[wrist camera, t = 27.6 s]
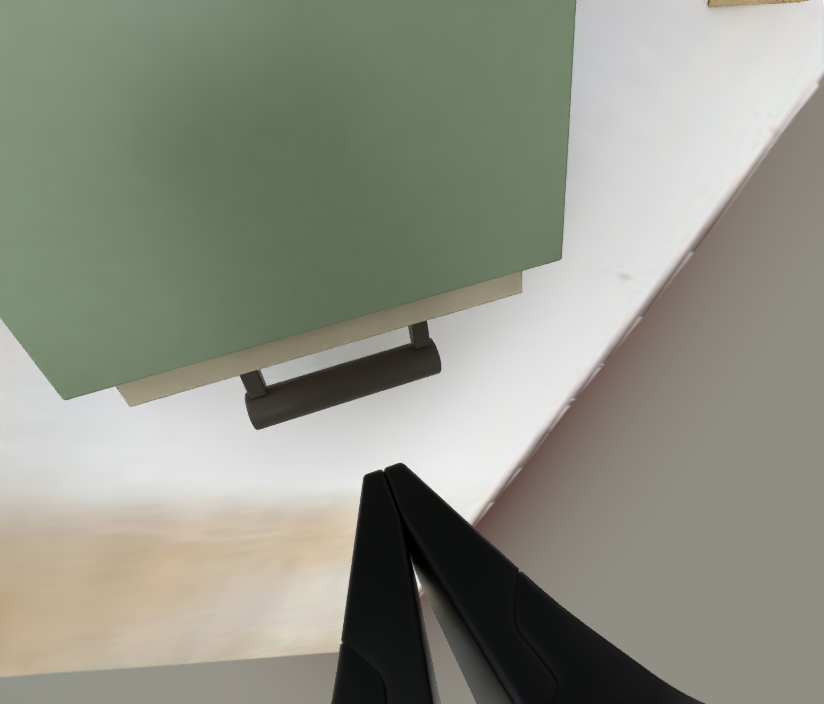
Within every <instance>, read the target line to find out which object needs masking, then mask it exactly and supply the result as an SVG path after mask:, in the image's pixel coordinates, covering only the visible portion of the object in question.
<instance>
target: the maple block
mask: <svg viewBox="0 0 824 704" xmlns="http://www.w3.org/2000/svg"><path fill="white" fill-rule="evenodd" d="M802 1H808V0H710V2H709V7H722V6H740V5H758V4H776V3H794V2H802Z"/></svg>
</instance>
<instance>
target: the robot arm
mask: <svg viewBox="0 0 824 704" xmlns="http://www.w3.org/2000/svg"><path fill="white" fill-rule="evenodd" d="M412 564H413V565H412ZM413 567H414V569H413ZM414 570H415V572H416V574H417V577H418V579H419V581H420V583H421V586H422V588H423V590H424V592H425V594H426V596H427V598H428V600H429V602H430V605H431V607H432V609H433V611H434V613H435V615H436V618H437V620H438V622H439V624H440V626H441V628H442V630H443V632H444V634H445V637H446V639H447V641H448V643H449V645H450V647H451V649H452V652H453V654H454V656H455V658H456V660H457V662H458V665H459V667H460V669H461V671H462V673H463V675H464V677H465V680H466V682H467V684H468V686H469V688H470V690H471V692H472V695H473V697H474V699H475V701H476V703H477V704H705V703H702V702H700V701H698V700H696V699H694V698H692V697H690V696H688V695H686V694H684V693H682V692H681V691H679V690H677V689H675V688H674V687H672V686H671V685H669V684H668V683H666V682H664V681H663V680H661V679H660V678H658V677H657V676H656V675H654V674H653V673H651V672H650V671H649V670H647V669H646V668H644V667H643V666H642V665H640V664H639V663H638V662H636V661H635V660H633V659H632V658H631V657H629V656H628V655H626V654H625V653H624V652H622V651H621V650H620V649H618V648H617V647H616V646H614V645H613V644H611V643H610V642H609V641H607V640H606V639H605V638H603V637H602V636H601V635H599V634H598V633H596V632H595V631H594V630H592V629H591V628H590V627H588V626H587V625H585V624H584V623H583V622H581V621H580V620H579V619H578V618H576V617H575V616H574V615H572V614H571V613H570V612H568V611H567V610H566V609H565V608H563V607H562V606H561V605H559V604H558V603H557V602H556V601H555V600H554V599H553V598H551V597H550V596H549V595H548V594H547V593H545V592H544V591H543V590H542V589H541V588H540V587H538V586H537V585H536V584H535V583H534V582H533V581H532V580H531V579H530V578H529V577H528V576H526V575H525V574H524V573H523V572H519V569H518V568H517V567H516V566H515V565H514V564H513V563H512V562H511V561H510V560H509V559H508V558H506V557H505V556H504V555H503V554H502V553H501V552H500V551H499V550H498V549H497V548H496V547H494V546H493V545H492V544H491V543H490V542H489V541H488V540H487V539H486V538H485V537H483V536H482V535H481V534H480V533H479V532H478V531H477V530H476V529H475V528H474V527H473V526H471V525H470V524H469V523H468V522H467V521H466V520H465V519H464V518H463V517H462V516H461V515H459V514H458V513H457V512H456V511H455V510H454V509H453V508H452V507H451V506H450V505H448V504H447V503H446V502H445V501H444V500H443V499H442V498H441V497H440V496H439V495H438V494H436V493H435V492H434V491H433V490H432V489H431V488H430V487H429V486H428V485H427V484H426V483H424V482H423V481H422V480H421V479H420V478H419V477H418V476H417V475H416V474H415V473H413V472H412V471H411V470H410V469H409V468H408V467H407V466H406V465H405V464H403V463H397V464H394V465H392V466H389V467H386V468H385V469H384V471H383V470H377V471H374V472H371V473H368V474H366V475H365V476H364V478H363V484H362V491H361V498H360V506H359V513H358V520H357V528H356V535H355V543H354V550H353V557H352V565H351V572H350V579H349V587H348V594H347V602H346V609H345V616H344V624H343V631H342V638H341V640H342V644H341V645H340V651H339V659H338V666H337V672H336V678H335V685H334V690H333V697H332V702H331V704H441V702H440V697H439V692H438V688H437V682H436V678H435V672H434V668H433V663H432V657H431V652H430V647H429V642H428V637H427V632H426V627H425V622H424V617H423V612H422V607H421V602H420V597H419V592H418V587H417V582H416V578H415V573H414Z"/></svg>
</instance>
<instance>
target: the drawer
mask: <svg viewBox="0 0 824 704" xmlns="http://www.w3.org/2000/svg"><path fill="white" fill-rule="evenodd" d="M521 292H522V271H520V272H516V273H513V274H509V275H505V276H502V277H498V278H495V279H491V280H488V281H484V282H481V283H477V284H474V285H470V286H467V287H463V288H460V289H456V290H453V291H449V292H445V293H442V294H438V295H435V296H431V297H428V298H424V299H421V300H417V301H414V302H410V303H407V304H403V305H400V306H396V307H393V308H389V309H386V310H382V311H378V312H375V313H371V314H368V315H364V316H361V317H357V318H354V319H350V320H347V321H343V322H340V323H336V324H333V325H329V326H326V327H322V328H318V329H315V330H311V331H308V332H304V333H301V334H297V335H294V336H290V337H287V338H283V339H280V340H276V341H273V342H269V343H266V344H262V345H258V346H255V347H251V348H248V349H244V350H241V351H237V352H234V353H230V354H227V355H223V356H220V357H216V358H213V359H209V360H206V361H202V362H198V363H195V364H191V365H188V366H184V367H181V368H177V369H174V370H170V371H167V372H163V373H160V374H156V375H153V376H149V377H146V378H142V379H138V380H135V381H131V382H128V383H124V384H121V385H117V386H116V387H117V389H118V390H119V392H120V393H121V395H122V396H123V398H124V399H125V401H126V402H127V404H128V405H129V406H130V407H132V406H135V405H139V404H142V403H146V402H149V401H152V400H156V399H159V398H163V397H166V396H170V395H173V394H176V393H180V392H183V391H187V390H190V389H193V388H197V387H200V386H204V385H207V384H211V383H214V382H217V381H221V380H224V379H228V378H231V377H235V376H238V375H240V377H241V380H242V382H243V384H244V386H245V389H246V391H247V393H246V394H245V403H246V408H247V411H248V415H249V418H250V420H251V423H252V425H253V426H254V428H255V429H256V430H259V429H263V428H266V427H269V426H272V425H275V424H279V423H282V422H285V421H288V420H291V419H294V418H298V417H301V416H304V415H307V414H310V413H314V412H317V411H320V410H323V409H326V408H330V407H333V406H336V405H339V404H342V403H345V402H349V401H352V400H355V399H358V398H361V397H365V396H368V395H371V394H374V393H377V392H380V391H384V390H387V389H390V388H393V387H396V386H400V385H403V384H406V383H409V382H412V381H415V380H419V379H422V378H425V377H428V376H431V375H435V374H438V373H440V372H441V361H440V356H439V353H438V350H437V348H436V345H435V343H434V342H433V340H432V339H431V338H429V332H428V324H427V320H430V319H433V318H437V317H440V316H443V315H447V314H450V313H454V312H457V311H461V310H464V309H467V308H471V307H474V306H478V305H481V304H484V303H488V302H491V301H495V300H498V299H502V298H505V297H508V296H512V295H515V294H519V293H521ZM406 326H408V328H409V334H410V339H411V343H409V344H406V345H403V346H399V347H396V348H393V349H389V350H386V351H383V352H379V353H376V354H373V355H369V356H366V357H363V358H359V359H356V360H353V361H349V362H346V363H343V364H339V365H336V366H333V367H329V368H326V369H323V370H319V371H316V372H313V373H309V374H306V375H302V376H299V377H296V378H292V379H289V380H286V381H282V382H279V383H276V384H272V385H269V386H266V383H265V381H264V378H263V376H262V373H261V371H260V369H262V368H265V367H269V366H272V365H276V364H279V363H283V362H286V361H289V360H293V359H296V358H300V357H303V356H306V355H310V354H313V353H317V352H320V351H324V350H327V349H330V348H334V347H337V346H341V345H344V344H348V343H351V342H354V341H358V340H361V339H365V338H368V337H372V336H375V335H378V334H382V333H385V332H389V331H392V330H395V329H399V328H402V327H406Z"/></svg>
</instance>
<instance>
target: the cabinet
mask: <svg viewBox="0 0 824 704" xmlns="http://www.w3.org/2000/svg"><path fill="white" fill-rule="evenodd" d="M575 12H576V0H0V318H1V319H2V321H3V322H4V323H5V324H6V326H7V327H8V328H9V330H10V331H11V332H12V334H13V335H14V336H15V338H16V339H17V340H18V341H19V343H20V344H21V345H22V347H23V348H24V349H25V351H26V352H27V353H28V354H29V356H30V357H31V358H32V360H33V361H34V362H35V364H36V365H37V366H38V367H39V369H40V370H41V371H42V373H43V374H44V375H45V377H46V378H47V379H48V380H49V382H50V383H51V384H52V386H53V387H54V388H55V390H56V391H57V392H58V394H59V395H60V396H61V397H62V399H64V400H68V399H71V398H75V397H78V396H82V395H86V394H89V393H93V392H96V391H100V390H103V389H107V388H110V387H114V386H117V385H121V384H124V383H128V382H131V381H135V380H138V379H142V378H146V377H149V376H153V375H156V374H160V373H163V372H167V371H170V370H174V369H177V368H181V367H184V366H188V365H191V364H195V363H198V362H202V361H206V360H209V359H213V358H216V357H220V356H223V355H227V354H230V353H234V352H237V351H241V350H244V349H248V348H251V347H255V346H258V345H262V344H266V343H269V342H273V341H276V340H280V339H283V338H287V337H290V336H294V335H297V334H301V333H304V332H308V331H311V330H315V329H318V328H322V327H326V326H329V325H333V324H336V323H340V322H343V321H347V320H350V319H354V318H357V317H361V316H364V315H368V314H371V313H375V312H378V311H382V310H386V309H389V308H393V307H396V306H400V305H403V304H407V303H410V302H414V301H417V300H421V299H424V298H428V297H431V296H435V295H438V294H442V293H445V292H449V291H453V290H456V289H460V288H463V287H467V286H470V285H474V284H477V283H481V282H484V281H488V280H491V279H495V278H498V277H502V276H505V275H509V274H513V273H516V272H520V271H523V270H527V269H530V268H534V267H537V266H541V265H544V264H548V263H551V262H555V261H558V260H561V258H562V243H563V225H564V207H565V190H566V172H567V154H568V136H569V119H570V101H571V83H572V65H573V48H574V30H575Z"/></svg>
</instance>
